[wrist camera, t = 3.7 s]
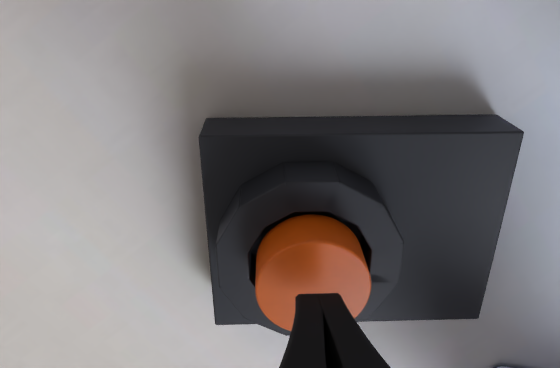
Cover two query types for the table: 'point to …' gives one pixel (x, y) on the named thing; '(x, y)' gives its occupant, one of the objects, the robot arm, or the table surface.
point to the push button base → (362, 204)
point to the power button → (309, 266)
